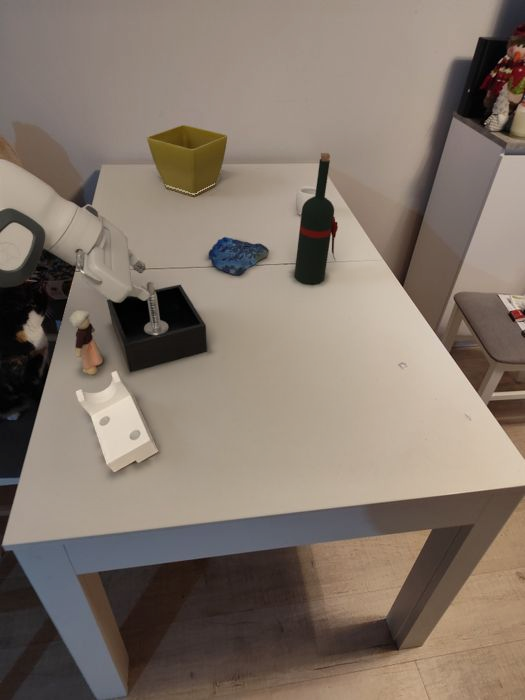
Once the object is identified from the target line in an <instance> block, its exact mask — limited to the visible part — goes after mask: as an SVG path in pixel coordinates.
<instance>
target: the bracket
mask: <svg viewBox="0 0 525 700" xmlns="http://www.w3.org/2000/svg"><path fill="white" fill-rule="evenodd" d="M110 375H111V377H112V378H111V383H110V384H109V385H108V386H107V387H106V388H105V389H103V390H101V391H98V392H87V391H85V390H83V389H82V388H80V389H78V390H76V391H75V394H76V398H77V400H78V404H79V405H81V407H82V408H83V409H84V410H85V411H86V413H87V414H88V415H89V416H90V418H91V421H92V424H93V427H94V430H95V433H96V436H97V439H98V442H99V446H100V449H101V451H102V454H103V457H104V460H105V463H106V465H107V467H108V468H109V469H110V470H112V472H113V473H116V472H118V471H119V470H122V469H123V468H125V467H126V466H128V465H130V464H132V463H133V462H136V463H137V464H140V463H141V462H142V461H145V460H146V459H148V458H150V457H152V456H153V455H155V454H157V453H158V452H159V449H158V447H157V445H156V442H155V441H154V438H153V436H152V433H151V431H150V429H149V427H148V425H147V422H146V420H145V418H144V415H143V413H142V411H141V409H140V407H139V404H138V402H137V399H136V397H135V396H134V395H133V393H132V391H131V390H130V389H129V387H128V385H127V384H126V383H125V381H124V379H123V378H122V377H121V375H120V374H119V373H118V371H117V370H115V371H112V372H110Z"/></svg>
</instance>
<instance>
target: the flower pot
mask: <svg viewBox="0 0 525 700" xmlns="http://www.w3.org/2000/svg"><path fill="white" fill-rule="evenodd" d="M146 140H147V144H148V148H149V151H150V154H151V157H152V160H153V162H154V165H155V167H156V170H157V172H158V174H159V177H160V178H161V181H162V183H163V185H164V184H166V185H169V186H172V187H175V188H179V189H182V190H185V191H188V192H190V193H197V192H198V191H200V190H202V189H204V188H206V187H208V186H210V185H212V184H214V183H216V182H217V183H218V181H219V177H220V173H221V171H222V168H223V163H224V158H225V154H226V148H227V143H228V135H227V134H224V133H220V132H216V131H212V130H207V129H204V128H198V127H195V126H190V125H186V124H182V125H178V126H176V127H173V128H170V129H166V130H163V131H161V132H158V133H155V134H152V135H149V136H147V137H146ZM217 183H216V184H215V185H213V186H211V187H209V188H207V189H205V190H203V191H201V192H199V193H198V194H195V195H192V194H189V193H185V192H182V191H179V190H176V189H172V188H169V187H166V186H165V185H164V187H165V188H166V189H167V190H170V191H174V192H177V193H180V194H183V195H186V196H190V197H193V198H194V197H198V196H199V195H201V194H203V193H204V192H207V191H208V190H210V189H213V188H214V187H216V185H217Z"/></svg>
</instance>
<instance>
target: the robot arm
mask: <svg viewBox="0 0 525 700" xmlns="http://www.w3.org/2000/svg"><path fill="white" fill-rule="evenodd" d="M128 242H129V241H128V237H127V236H126V234H125V233H124V231H122V230H121V229H120V228H119V227H117V226H116V225H115V224H113V223H112V222H111V221H110V220H108V219H107V218H105V216H103V215H101V214H99V210H98V209H97V208H96V207H94V206H93V205H91V204H90V203H87V204H85V205H84V206H83V207H80V206H79V205H77V204H76V203H75V202H72V201H70V200H67V199H65V198H63V197H62V196H61V195H59V194H58V193H57V191H56V190H55V189H54V188H53V187H52V186H51V185H49V184H48V183H46V182H45V181H43V180H42V179H40V178H39V177H37V176H36V175H35V174H33V173H31V172H30V171H28V170H26V169H25V168H23V167H21V166H19V165H17V164H16V163H13V162H12V161H9V160H7V159H5V158H4V159H3V158H0V288H14V287H17V286H20V285H23V284H24V283H25V282H27V281H28V280H29V279H30V278H31V277H32V276H33V275H34V273H35V271H36V269H37V267H38V263H39V261H40V258H41V256H42V253H43V250H45V251H47V252H49V253H50V254H52V255H54V256H56V257H57V258H59V259H61V260H62V261H64V262H66V263H67V264H69V265H71V266H72V267H73V266H75V268H76V269H77V270H78V272H80V276H81V279H82V280H83V281H84V283H86V284H87V285H88V286H89V287H91V288H92V289H94V291H96V292H98V293H99V294H101V295H102V296H104V297H105V298H107V300H109V299H110V300H111V301H113V302H117V303H121V302H122V301H123V300H124V299H125V298H126V297H127V296H134V297H138V298H139V299H141V300H143V301H145V300H147V299H148V298H149V297H150V293H149V290H148V289H147V287H145V286H144V285H141V286H139V285H136V283H135V282H134V281H132V272H131V267H132V269H133V270H134V271H135V272H137V273H138V274H144V271H146V270H147V267H146V263H145V262H144V261H142V260H141V259H139V257H138V256H137V255H136V254H135V253H134V252H133V250H132V249H130V248H129V244H128Z"/></svg>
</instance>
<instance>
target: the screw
mask: <svg viewBox="0 0 525 700" xmlns="http://www.w3.org/2000/svg"><path fill="white" fill-rule="evenodd" d="M146 289H148V290H149V293H150V297H149V298H148V300H147V301H148V304H149V305H148V306H149V314H150V319H151V320H150V322H149V323H147V324H146V325H145V327H144V331H145V333H146V334H148V335H150V336H154V335H158V334H162V333H166V332H167V331H168V324H167V323H166V322H164V321H161V320H160V317H159V310H158V303H157V295H156V292H155V290H156V289H155V284H154V282H153V281H148V282H147V283H146Z"/></svg>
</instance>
